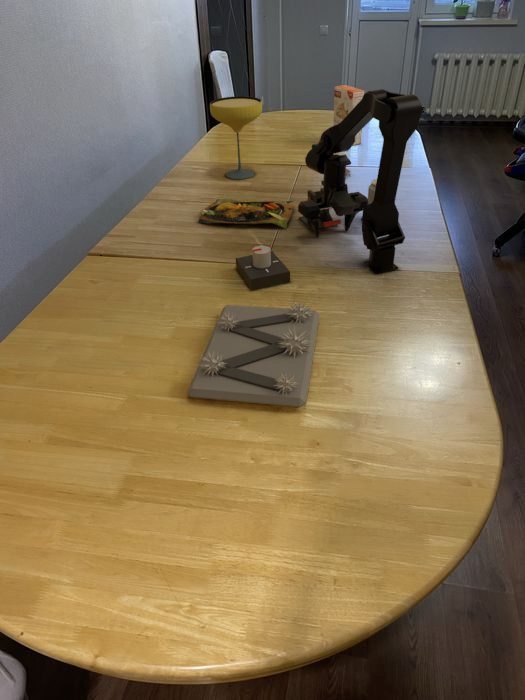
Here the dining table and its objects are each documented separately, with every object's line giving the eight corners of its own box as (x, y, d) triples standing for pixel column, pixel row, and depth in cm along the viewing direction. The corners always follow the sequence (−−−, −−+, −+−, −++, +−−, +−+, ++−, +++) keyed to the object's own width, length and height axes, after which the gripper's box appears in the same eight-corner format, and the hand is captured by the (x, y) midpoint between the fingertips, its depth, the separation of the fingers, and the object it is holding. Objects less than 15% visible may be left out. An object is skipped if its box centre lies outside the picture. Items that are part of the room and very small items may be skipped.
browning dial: (267, 258, 130) (266, 243, 127) (273, 266, 127) (273, 250, 124) (250, 262, 129) (249, 246, 126) (256, 270, 126) (256, 253, 123)
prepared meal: (194, 213, 154) (214, 190, 168) (195, 224, 156) (215, 201, 170) (285, 223, 148) (299, 199, 162) (285, 234, 150) (298, 210, 164)
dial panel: (290, 282, 126) (290, 270, 124) (251, 290, 124) (250, 278, 122) (272, 261, 135) (272, 250, 134) (236, 268, 133) (235, 257, 131)
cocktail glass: (271, 178, 188) (270, 103, 173) (224, 186, 183) (218, 110, 168) (254, 164, 201) (251, 94, 186) (209, 171, 196) (203, 99, 181)
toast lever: (339, 226, 146) (342, 220, 144) (323, 229, 145) (325, 223, 143) (323, 195, 151) (325, 189, 149) (308, 198, 150) (309, 192, 148)
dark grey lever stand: (337, 227, 151) (339, 195, 145) (312, 232, 149) (313, 199, 143) (322, 215, 159) (323, 184, 153) (298, 220, 157) (299, 188, 151)
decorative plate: (224, 312, 117) (221, 284, 112) (319, 318, 113) (320, 289, 109) (186, 401, 93) (181, 370, 89) (305, 412, 90) (305, 381, 85)
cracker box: (331, 138, 226) (334, 86, 214) (343, 136, 228) (346, 84, 216) (349, 146, 216) (352, 91, 203) (361, 144, 218) (365, 89, 205)
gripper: (315, 194, 129) (313, 251, 138) (381, 183, 133) (375, 239, 143) (297, 180, 137) (297, 235, 146) (360, 170, 142) (356, 224, 151)
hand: (331, 233), depth 146 cm, fingers open, 9 cm apart
